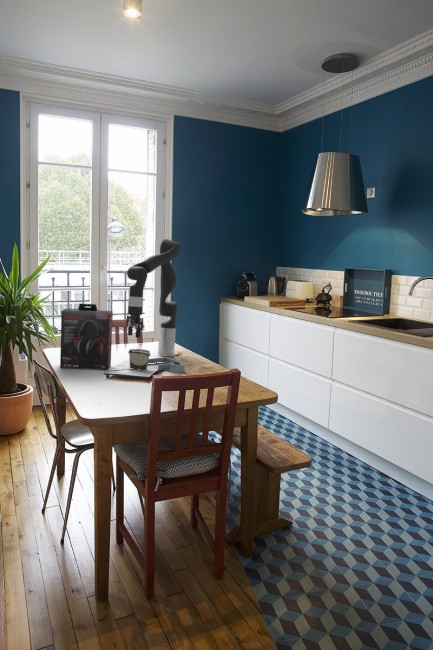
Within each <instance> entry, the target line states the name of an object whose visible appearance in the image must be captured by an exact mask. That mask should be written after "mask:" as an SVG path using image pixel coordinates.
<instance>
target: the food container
mask: <svg viewBox="0 0 433 650" xmlns="http://www.w3.org/2000/svg"><path fill="white" fill-rule="evenodd" d="M127 353H128V355H129V356H128V357H129V369H130V368H133V369H132V370H136V369H140V370H139V371H143V370H147V371H148V360H149V359H150V357H151V352H150V350H148V349H144V348H143V349H142V348H141V349H140V348H132V349H129V350H128V352H127Z"/></svg>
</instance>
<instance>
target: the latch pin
mask: <svg viewBox="0 0 433 650" xmlns="http://www.w3.org/2000/svg"><path fill="white" fill-rule="evenodd" d="M173 354H174V360H175V361H174V364H180V362H181V356H182V355H183V354H182V352H177V351H174V353H173Z"/></svg>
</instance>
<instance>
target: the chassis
mask: <svg viewBox="0 0 433 650" xmlns="http://www.w3.org/2000/svg"><path fill="white" fill-rule="evenodd" d="M174 361H175V359H173V358H169V357H167V356H162V357H156V358H155V357H154V358H149V360H148V363H155V362H156V363H157V362H166V363H159V364H158V365H157V370H158V371H167V370H168V372H170V373H176V374H177V373H185V369H186V364H184V361H180V364H174Z"/></svg>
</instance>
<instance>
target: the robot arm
mask: <svg viewBox="0 0 433 650" xmlns="http://www.w3.org/2000/svg"><path fill="white" fill-rule="evenodd" d="M182 249H183V248H182V244H180V243H179V242H177V241H174V240H172V239H168V238H163V240H162V241H161V242H160V245H159V254H153V255H151V256H149V257H147V258H145V259H144V260H143V261H141V262H138V263H136V264H133V265H131V266H130V267H129V268H128V269H127V272H126V275H127V278H128V279H129V280H131V281H136V282H135V283H134V284H132V285H130V286H129V291H128V292H129V293H128V303H127V315H126V321H125V322H126V323H125V326H126V327H127V335H128V336H133V332H134V331H133V328H135V338H136V339H138V338H141V331H142V330H144V317H141V316H142V315H143V313H144V312H143V311H144V307H143V306H144V288H145V285H146V282H147V278H148V274H150V273H152V272H154V270H156V269H157V268H159V267H160V281H159V282H160V295H159V296H160V298H159V307H158V308H159V309H158V311H159V315H160V316H161V317H167V318H169V317H170V319H168V320H166V321H162V322H161V323H160V331H159V332H160V334H159V335H160V336H159V339H158V348H157V349H158V352H157V355H159V356H161V357H175V355H174V354H173V353H174V352H175V345H176V330H177V317H178V316H177V315H178V302H176V301H168V300H167V298H168V297H169V295H171V294H172V292H173V291H174V290H175V288H176V286H177V273H176V271H175V268H174V266H173V264H172V263H171V262H172V261H174V260H176V259H178V258H179V257H180V256H181V254H182V251H183V250H182ZM166 300H167V301H166Z"/></svg>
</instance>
